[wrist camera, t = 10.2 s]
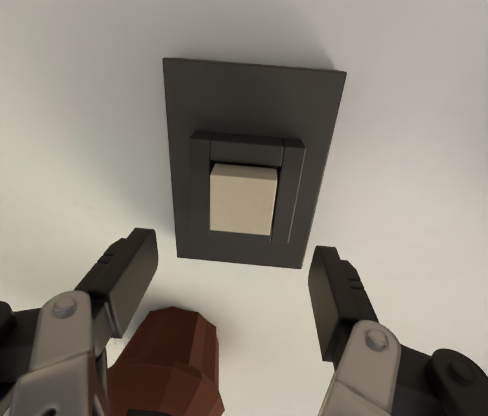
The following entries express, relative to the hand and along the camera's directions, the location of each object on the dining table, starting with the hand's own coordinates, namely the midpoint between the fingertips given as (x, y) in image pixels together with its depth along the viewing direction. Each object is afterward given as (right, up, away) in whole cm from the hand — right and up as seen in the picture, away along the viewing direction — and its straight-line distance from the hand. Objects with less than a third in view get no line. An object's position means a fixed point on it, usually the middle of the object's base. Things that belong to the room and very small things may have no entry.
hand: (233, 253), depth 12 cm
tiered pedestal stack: (+1, +5, +8) cm, 9 cm away
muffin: (-7, -12, +18) cm, 23 cm away
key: (0, +3, +5) cm, 6 cm away
